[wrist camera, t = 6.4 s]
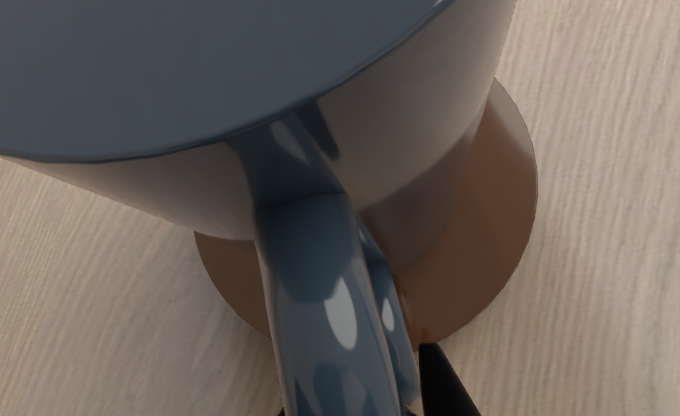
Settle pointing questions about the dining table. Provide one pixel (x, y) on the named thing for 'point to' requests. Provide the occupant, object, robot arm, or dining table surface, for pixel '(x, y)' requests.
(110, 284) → the dining table surface
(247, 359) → the dining table surface
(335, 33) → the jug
